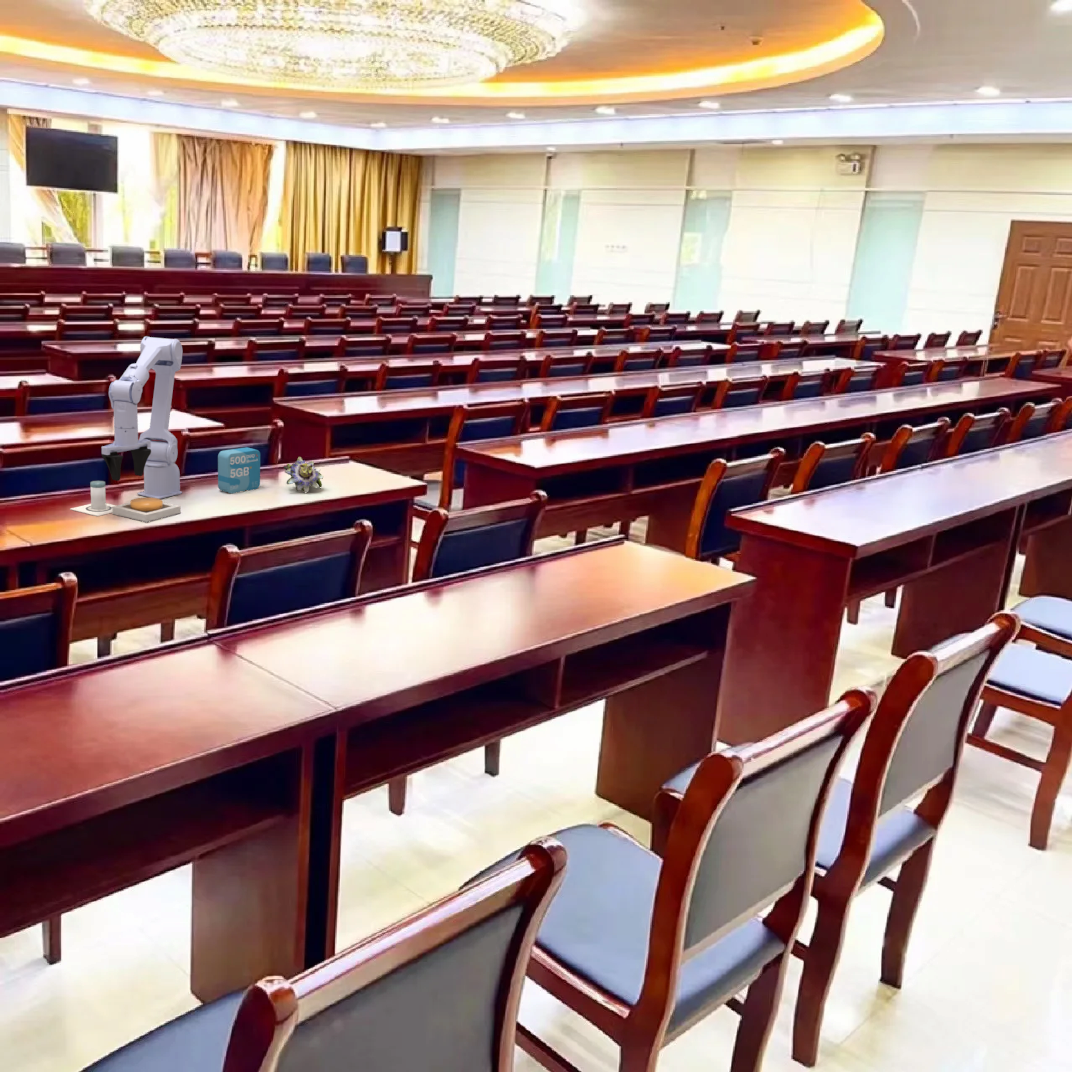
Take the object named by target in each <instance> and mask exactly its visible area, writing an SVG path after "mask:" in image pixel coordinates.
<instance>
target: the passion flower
mask: <svg viewBox="0 0 1072 1072" xmlns="http://www.w3.org/2000/svg"><path fill="white" fill-rule="evenodd" d="M283 469H284V473H285V474H287V475H288V476H290V478H288V479H287V480H286V484H287V485H292V484H294V485H295V490H296V491H297V492H299V491H302V492H303V491H304V492H309V490H310V487H312V488H313V489H316V490H317V489H318V488H320V487H321V488H322V487H323V483H322V481H321V480H323V479H324V475H323V474H321V473H320V471H321V468H319V467H318V468H316V467H315V462H314V461H313V460H312V461H307V462H306V460H305V459H304V460H303V458H302V457H301V456H298V458H297V460H296V461H295V462H293V463H292V464H291V463H286V465H285V464H284V466H283ZM304 492H303V493H304Z"/></svg>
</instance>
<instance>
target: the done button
mask: <svg viewBox="0 0 1072 1072" xmlns="http://www.w3.org/2000/svg"><path fill="white" fill-rule="evenodd" d="M163 502H164V501H163V500H162V498H161V499H157V498H151V497H138V498H133V499H131V500H130V501H129V503H130V507H131V509H133V510H137V511H155V510H159V509H162V508H163Z"/></svg>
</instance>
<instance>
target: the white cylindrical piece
mask: <svg viewBox="0 0 1072 1072" xmlns="http://www.w3.org/2000/svg"><path fill="white" fill-rule="evenodd" d="M89 483H90V485H89V486H90V504H91V509H94V510H102V509H106V503H107V500H106V499H107V498H106V497H107V494H106V481H104V480H92V481H90V482H89Z"/></svg>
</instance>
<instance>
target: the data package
mask: <svg viewBox="0 0 1072 1072" xmlns="http://www.w3.org/2000/svg"><path fill="white" fill-rule="evenodd" d="M260 485H261V452H260V451H259V450H258V449H255V448H250V447H240V448H239V447H238V448H232V449H226V450H221V451H219V453H218V455H217V487H218V489H219V491H220V492H225V493H227V492H228V493H227V494H236V492H237V493H241V492H240V491H243V492H246V491H245V490H248V491H254V490H258V489H259V487H261V486H260ZM253 489H254V490H253Z"/></svg>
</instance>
